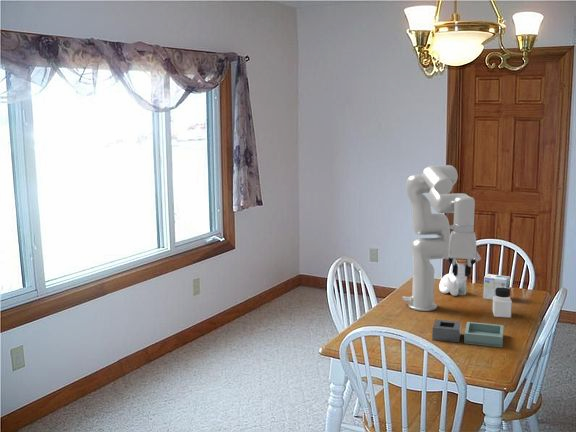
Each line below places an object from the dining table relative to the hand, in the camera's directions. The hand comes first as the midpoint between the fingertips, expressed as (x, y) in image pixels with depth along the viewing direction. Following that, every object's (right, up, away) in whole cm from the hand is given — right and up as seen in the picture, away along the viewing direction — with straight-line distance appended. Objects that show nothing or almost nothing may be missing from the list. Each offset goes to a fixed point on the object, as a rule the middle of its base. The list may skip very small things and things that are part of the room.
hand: (461, 274), depth 253 cm
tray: (+9, -25, +3) cm, 27 cm away
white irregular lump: (+12, -15, +63) cm, 66 cm away
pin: (0, -7, +1) cm, 7 cm away
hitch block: (-4, -25, +5) cm, 26 cm away
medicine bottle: (+26, -20, +32) cm, 46 cm away
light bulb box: (+31, -16, +55) cm, 65 cm away
